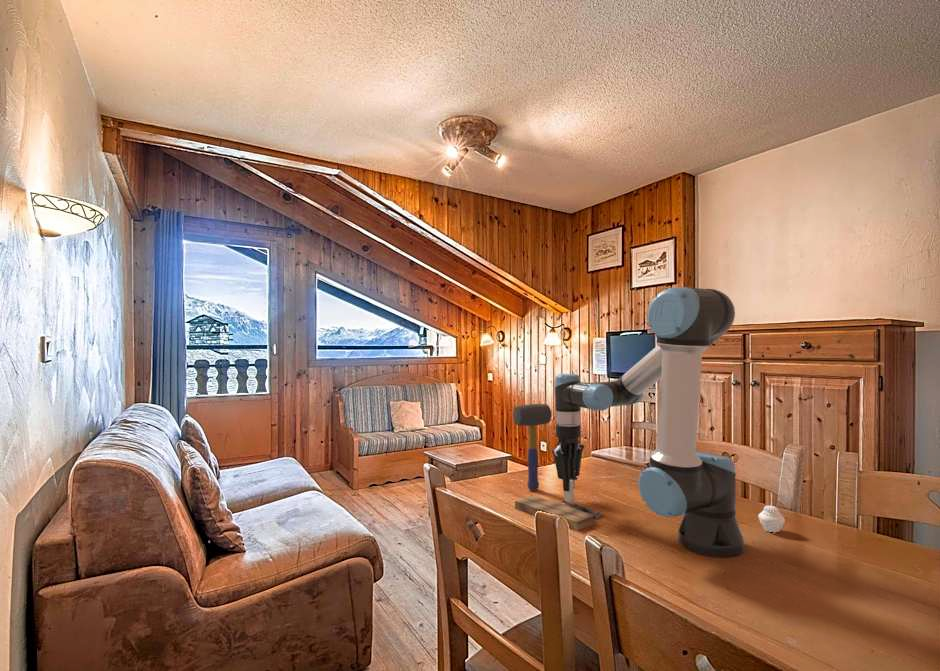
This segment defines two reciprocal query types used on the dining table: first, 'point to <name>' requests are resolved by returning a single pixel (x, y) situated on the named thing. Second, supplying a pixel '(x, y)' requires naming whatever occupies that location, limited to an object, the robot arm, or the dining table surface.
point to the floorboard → (556, 511)
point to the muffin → (771, 519)
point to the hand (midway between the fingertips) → (569, 500)
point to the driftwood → (584, 509)
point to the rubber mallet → (532, 434)
